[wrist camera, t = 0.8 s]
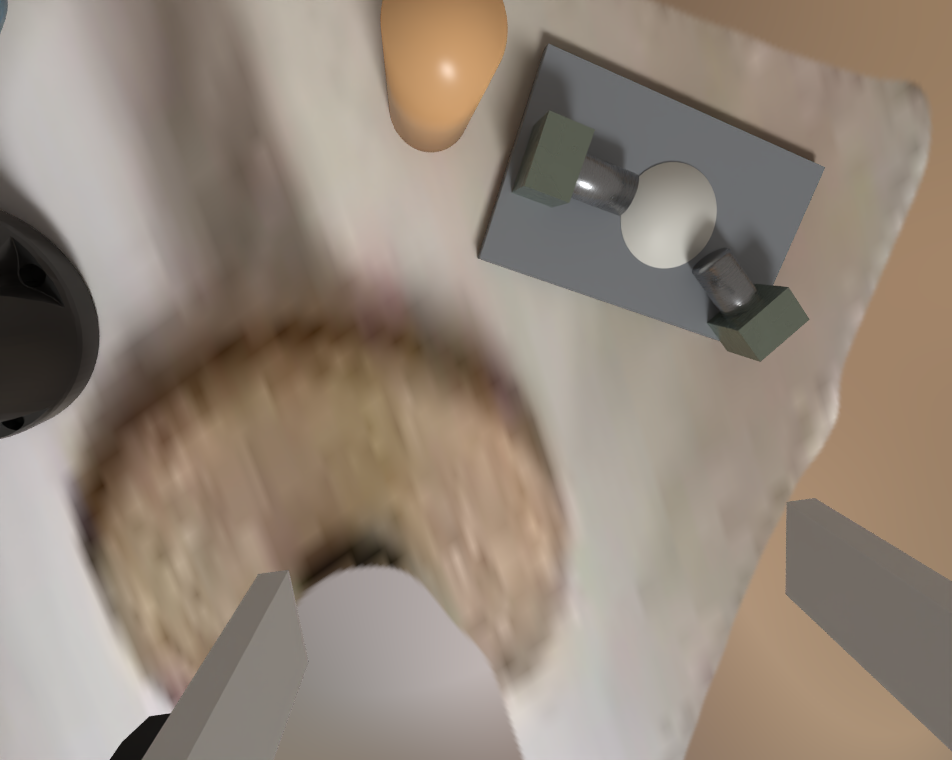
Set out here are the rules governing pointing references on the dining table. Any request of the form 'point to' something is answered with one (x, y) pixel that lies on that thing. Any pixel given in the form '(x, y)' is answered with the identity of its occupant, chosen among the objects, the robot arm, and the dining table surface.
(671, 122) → the plate
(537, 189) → the shaft
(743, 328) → the shaft
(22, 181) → the dining table surface
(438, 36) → the orange cylinder
